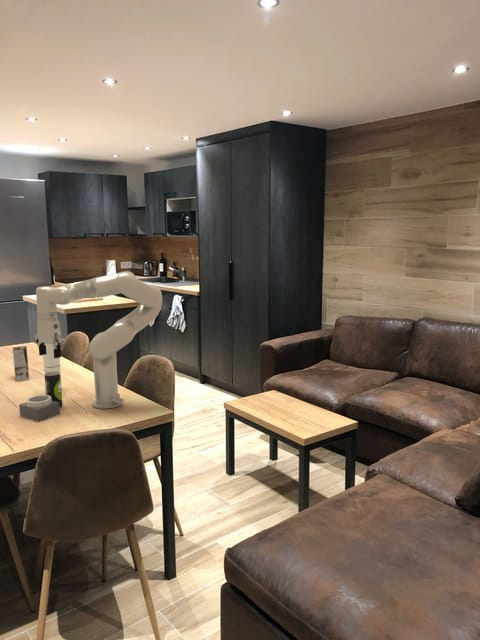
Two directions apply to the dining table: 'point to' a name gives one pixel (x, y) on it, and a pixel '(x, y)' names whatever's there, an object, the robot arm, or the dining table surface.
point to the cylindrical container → (51, 361)
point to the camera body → (39, 408)
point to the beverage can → (53, 386)
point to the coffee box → (21, 363)
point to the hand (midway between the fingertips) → (50, 356)
